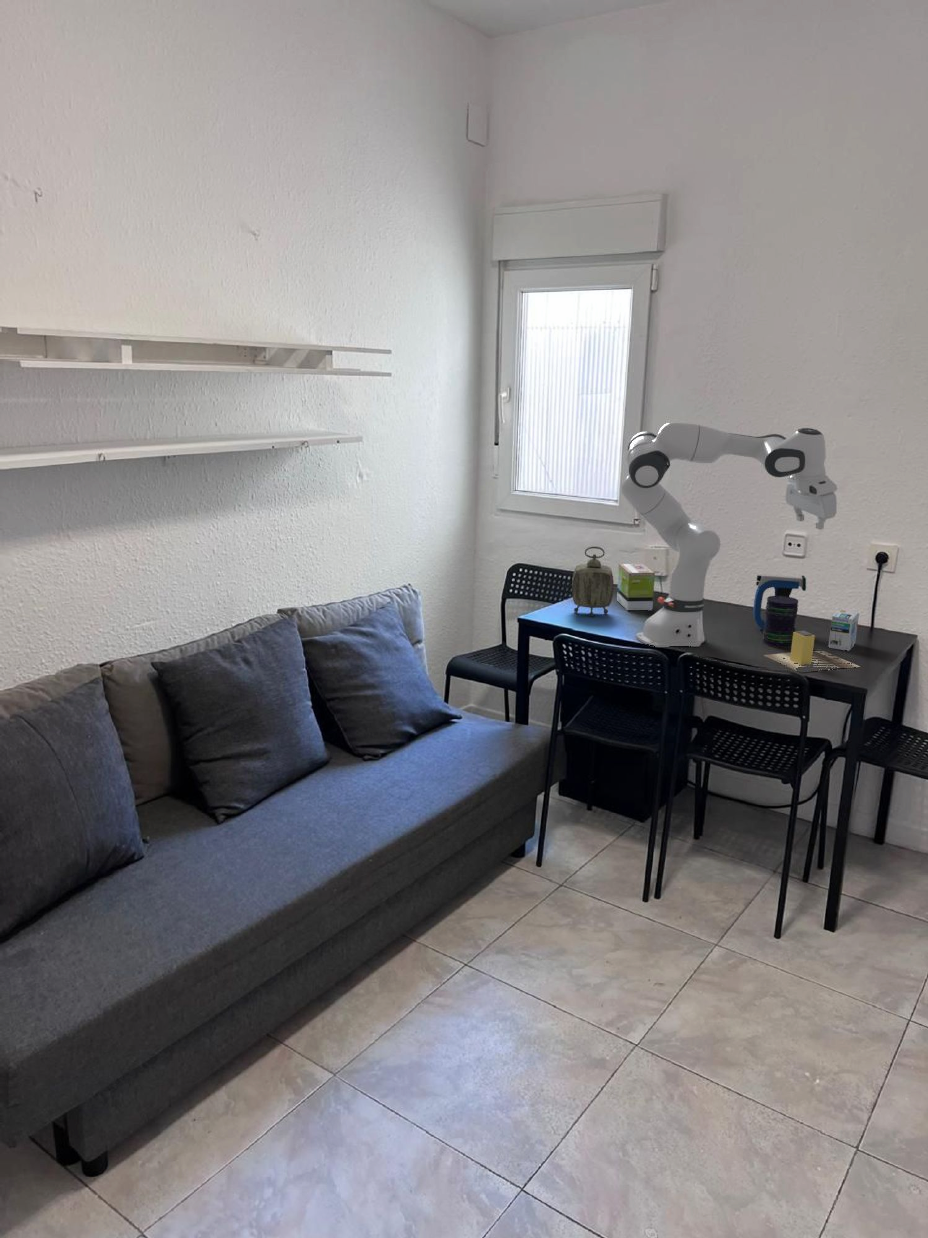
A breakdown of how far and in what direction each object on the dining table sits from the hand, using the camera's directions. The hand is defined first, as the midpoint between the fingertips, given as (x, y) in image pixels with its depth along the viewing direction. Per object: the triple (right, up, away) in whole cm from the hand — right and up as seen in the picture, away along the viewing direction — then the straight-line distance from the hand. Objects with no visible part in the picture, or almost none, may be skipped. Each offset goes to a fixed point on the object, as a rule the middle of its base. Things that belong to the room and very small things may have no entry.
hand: (809, 524), depth 289 cm
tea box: (-43, -24, +63) cm, 80 cm away
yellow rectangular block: (-3, -42, 0) cm, 42 cm away
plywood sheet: (+1, -42, +1) cm, 42 cm away
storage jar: (-4, -37, +19) cm, 42 cm away
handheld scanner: (+1, -33, +34) cm, 48 cm away
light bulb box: (+17, -38, +18) cm, 46 cm away
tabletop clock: (-61, -28, +49) cm, 83 cm away
